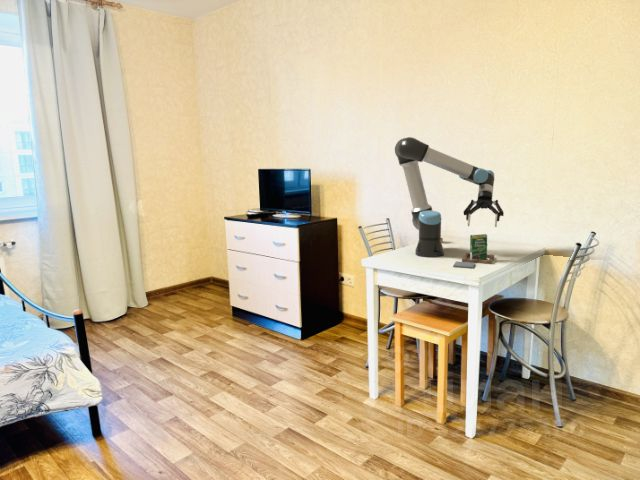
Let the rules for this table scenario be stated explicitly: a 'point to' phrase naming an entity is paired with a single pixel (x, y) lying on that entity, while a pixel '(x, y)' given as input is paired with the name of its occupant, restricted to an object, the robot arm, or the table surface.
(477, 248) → the coffee box
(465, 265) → the mat
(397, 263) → the table surface
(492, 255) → the brown flat square frame
